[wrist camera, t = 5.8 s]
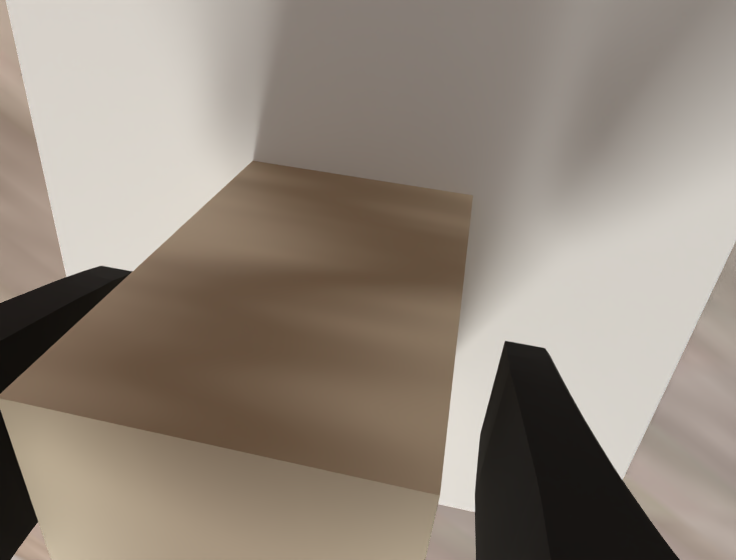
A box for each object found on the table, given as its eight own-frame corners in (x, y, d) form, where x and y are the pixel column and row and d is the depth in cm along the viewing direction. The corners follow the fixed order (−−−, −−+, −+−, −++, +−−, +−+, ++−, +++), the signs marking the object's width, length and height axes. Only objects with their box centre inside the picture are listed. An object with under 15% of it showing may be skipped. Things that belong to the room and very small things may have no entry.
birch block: (473, 195, 11) (440, 495, 5) (438, 371, 13) (388, 717, 8) (252, 160, 12) (-5, 397, 6) (255, 336, 14) (75, 633, 8)
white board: (852, -96, 9) (897, -99, 8) (589, 501, 16) (594, 538, 15) (17, -171, 11) (-35, -181, 10) (122, 400, 18) (99, 428, 17)
